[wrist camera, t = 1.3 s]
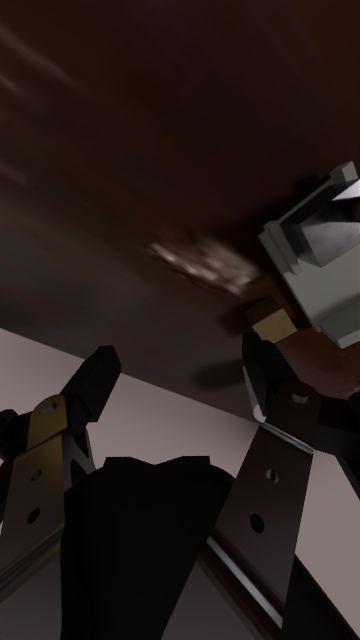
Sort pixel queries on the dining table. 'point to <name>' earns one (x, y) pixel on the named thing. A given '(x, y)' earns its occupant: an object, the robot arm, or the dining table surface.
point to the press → (321, 276)
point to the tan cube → (270, 320)
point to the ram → (326, 224)
